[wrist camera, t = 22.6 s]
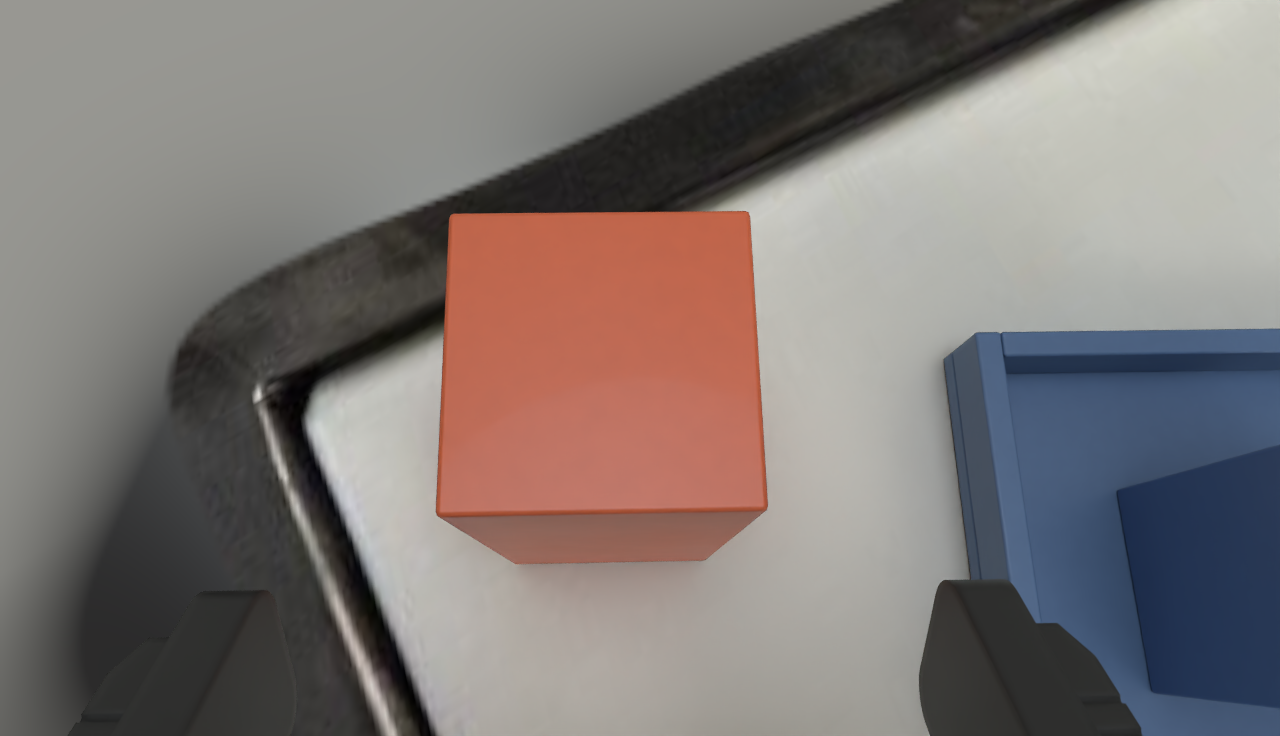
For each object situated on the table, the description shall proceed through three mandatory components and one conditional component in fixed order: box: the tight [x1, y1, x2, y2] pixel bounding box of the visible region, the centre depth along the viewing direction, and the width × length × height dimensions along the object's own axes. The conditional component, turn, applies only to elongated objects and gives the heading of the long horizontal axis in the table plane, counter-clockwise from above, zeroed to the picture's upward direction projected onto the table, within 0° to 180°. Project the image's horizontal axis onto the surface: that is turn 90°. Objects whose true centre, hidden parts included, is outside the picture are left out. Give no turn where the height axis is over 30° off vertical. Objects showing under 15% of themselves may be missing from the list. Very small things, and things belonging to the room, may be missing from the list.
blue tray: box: [944, 329, 1280, 736], centre depth 20 cm, size 11×11×2 cm
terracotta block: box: [436, 211, 768, 564], centre depth 17 cm, size 4×4×9 cm
